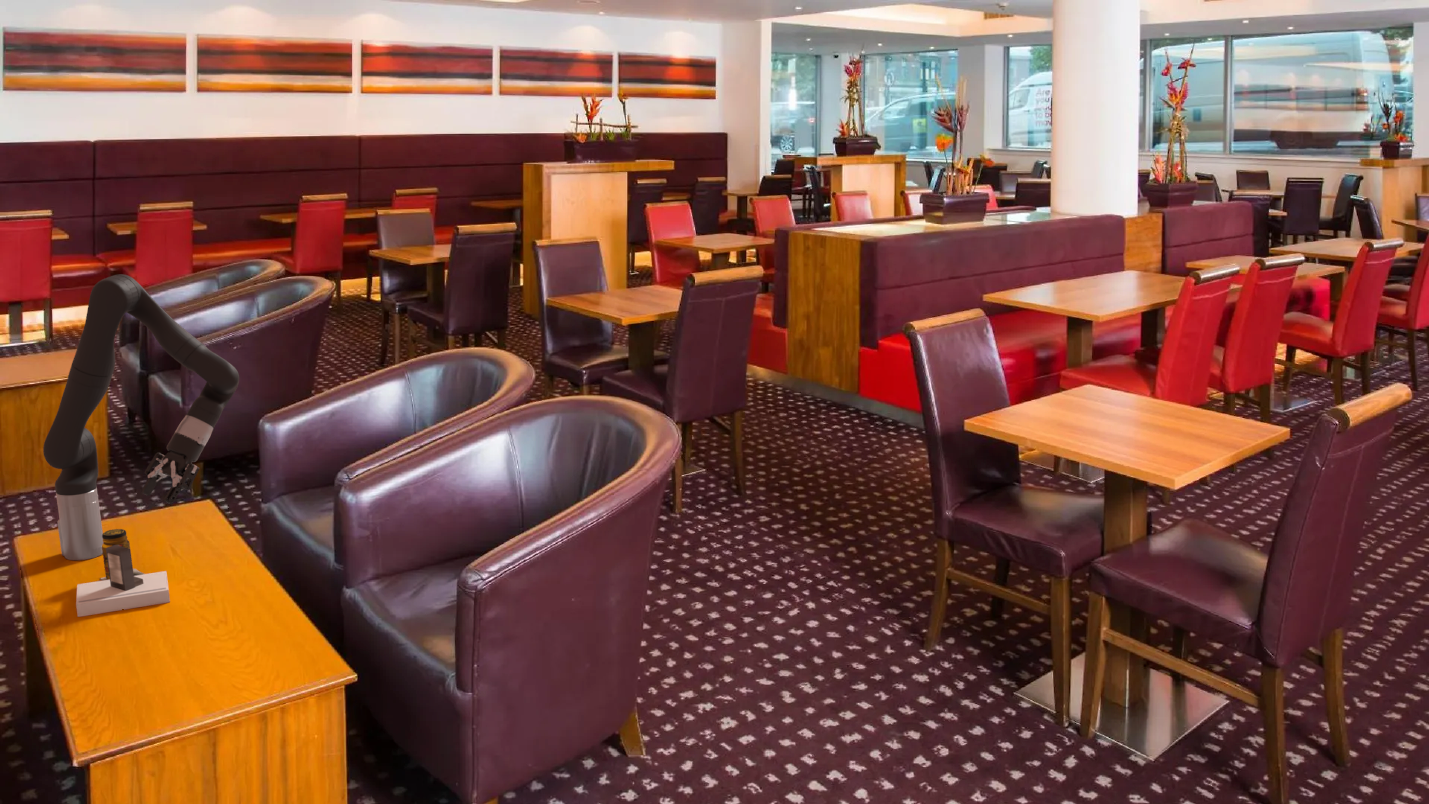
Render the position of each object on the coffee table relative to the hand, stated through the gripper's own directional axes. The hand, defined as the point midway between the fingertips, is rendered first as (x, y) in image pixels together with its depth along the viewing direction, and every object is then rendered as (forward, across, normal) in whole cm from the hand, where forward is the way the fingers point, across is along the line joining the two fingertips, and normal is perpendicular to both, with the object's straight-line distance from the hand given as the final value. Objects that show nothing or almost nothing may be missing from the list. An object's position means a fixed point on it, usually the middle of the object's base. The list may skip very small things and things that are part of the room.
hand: (156, 498), depth 288 cm
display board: (+24, +4, +3) cm, 24 cm away
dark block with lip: (+21, +4, +2) cm, 21 cm away
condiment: (+20, -8, +10) cm, 23 cm away
